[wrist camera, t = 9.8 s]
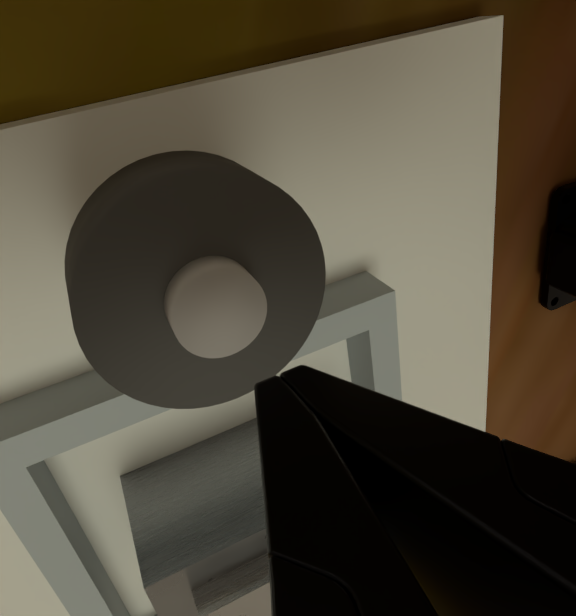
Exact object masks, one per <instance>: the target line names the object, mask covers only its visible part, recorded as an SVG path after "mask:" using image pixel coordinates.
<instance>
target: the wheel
mask: <svg viewBox="0 0 576 616" xmlns="http://www.w3.org/2000/svg"><path fill="white" fill-rule="evenodd" d="M64 264H65V280H66V286H67V292H68V299H69V305H70V311H71V317H72V322H73V328H74V332H75V335H76V337H77V340H78V343H79V346H80V348H81V350H82V351H83V353H84V355H85V357H86V359H87V360H88V362H89V363H90V364H91V366H92V367H93V368H94V370H95V371H96V372H97V373H98V374H99V375H100V376H101V377H102V378H103V379H104V380H105V381H106V382H107V383H108V384H110V385H111V386H113V387H114V388H115V389H117V390H118V391H120V392H121V393H123V394H125V395H127V396H129V397H131V398H133V399H135V400H138V401H141V402H143V403H146V404H149V405H154V406H158V407H163V408H172V409H195V408H203V407H210V406H214V405H218V404H222V403H225V402H228V401H231V400H234V399H237V398H239V397H241V396H243V395H245V394H247V393H250V392H252V391H253V390H254V385H255V384H256V383H257V382H259V381H262V380H264V379H267V378H269V377H272V376H275V375H277V374H278V373H279V372H280V371H281V370H282V369H283V368H284V367H285V366H286V365H287V364H288V363H289V362H290V361H291V360H292V359H293V358H294V356H295V355H296V354H297V353H298V351H299V350H300V349H301V347H302V346H303V344H304V343H305V342H306V340H307V338H308V336H309V335H310V333H311V331H312V329H313V327H314V325H315V322H316V320H317V318H318V315H319V312H320V309H321V305H322V302H323V296H324V291H325V279H326V270H325V258H324V253H323V249H322V245H321V242H320V239H319V236H318V233H317V231H316V229H315V227H314V225H313V223H312V221H311V219H310V218H309V217H308V215H307V214H306V212H305V211H304V210H303V208H302V207H301V206H300V205H299V204H298V203H297V202H296V201H295V200H294V199H293V198H292V197H291V196H290V195H289V194H287V193H286V192H285V191H284V190H282V189H281V188H280V187H278V186H277V185H275V184H273V183H271V182H270V181H268V180H266V179H264V178H263V177H261V176H259V175H258V174H256V173H254V172H252V171H251V170H249V169H247V168H245V167H244V166H242V165H240V164H238V163H236V162H235V161H233V160H230V159H227V158H225V157H222V156H220V155H216V154H211V153H207V152H201V151H189V150H185V151H170V152H164V153H159V154H154V155H151V156H148V157H145V158H142V159H139V160H137V161H135V162H133V163H131V164H129V165H127V166H125V167H123V168H122V169H120V170H119V171H117V172H116V173H114V174H113V175H111V176H110V177H109V178H108V179H106V180H105V181H104V182H103V183H102V184H101V185H100V186H99V187H98V188H97V189H96V190H95V191H94V192H93V193H92V194H91V196H90V197H89V198H88V199H87V200H86V202H85V203H84V205H83V207H82V208H81V210H80V211H79V213H78V215H77V217H76V219H75V221H74V223H73V226H72V228H71V230H70V234H69V238H68V241H67V245H66V252H65V260H64Z"/></svg>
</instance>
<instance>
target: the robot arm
mask: <svg viewBox="0 0 576 616" xmlns="http://www.w3.org/2000/svg"><path fill="white" fill-rule="evenodd" d="M575 300H576V182H573V183H570V184H567V185H565V186H562V187H560V188H558V189H557V190H556V191H555V192H554V194H553V195H552V199H551V207H550V217H549V227H548V237H547V247H546V257H545V267H544V277H543V287H542V297H541V305H542V306H543V307H545V308H547V309H549V310H554V309H557V308H559V307H561V306H563V305H566V304H568V303H570V302H573V301H575ZM254 394H255V406H256V418H257V430H258V443H259V455H260V467H261V479H262V491H263V503H264V515H265V528H266V540H267V552H268V558H269V560H268V568H269V580H270V595H271V616H576V464H574V463H571V462H568V461H565V460H562V459H559V458H557V457H554V456H551V455H548V454H545V453H542V452H539V451H536V450H534V449H531V448H528V447H525V446H523V445H520V444H517V443H514V442H512V441H509V440H506V439H503V440H501V441H500V439H499V437H497V436H495V435H492V434H490V433H487V432H484V431H481V430H479V429H476V428H473V427H471V426H468V425H465V424H463V423H460V422H457V421H454V420H452V419H449V418H446V417H444V416H441V415H438V414H436V413H433V412H430V411H427V410H425V409H422V408H419V407H417V406H414V405H411V404H409V403H406V402H403V401H400V400H398V399H395V398H392V397H390V396H387V395H384V394H382V393H379V392H376V391H373V390H371V389H368V388H365V387H363V386H360V385H357V384H355V383H352V382H349V381H346V380H344V379H341V378H338V377H336V376H333V375H330V374H328V373H325V372H322V371H320V370H317V369H314V368H311V367H309V366H306V365H299V366H296V367H294V368H291V369H289V370H286V371H284V372H282V373H281V374H280V376H276V375H275V376H272V377H269V378H267V379H264V380H262V381H259V382H257V383H256V384H255V385H254Z"/></svg>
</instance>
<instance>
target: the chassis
mask: <svg viewBox="0 0 576 616" xmlns="http://www.w3.org/2000/svg"><path fill="white" fill-rule="evenodd" d="M502 37H503V15H499V16H480V17H475V18H471V19H466V20H462V21H457V22H453V23H448V24H444V25H440V26H435V27H431V28H426V29H422V30H417V31H413V32H408V33H404V34H400V35H395V36H391V37H386V38H382V39H377V40H373V41H368V42H364V43H360V44H355V45H351V46H346V47H342V48H337V49H333V50H328V51H324V52H320V53H315V54H311V55H306V56H302V57H297V58H293V59H288V60H284V61H280V62H275V63H271V64H266V65H262V66H257V67H253V68H248V69H244V70H240V71H235V72H231V73H226V74H222V75H217V76H213V77H208V78H204V79H200V80H195V81H191V82H186V83H182V84H177V85H173V86H168V87H164V88H160V89H155V90H151V91H146V92H142V93H137V94H133V95H128V96H124V97H120V98H115V99H111V100H106V101H102V102H97V103H93V104H88V105H84V106H80V107H75V108H71V109H66V110H62V111H57V112H53V113H48V114H44V115H40V116H35V117H31V118H26V119H22V120H17V121H13V122H8V123H4V124H0V616H158V615H157V613H156V611H155V609H154V608H153V606H152V604H151V602H150V600H149V598H148V596H147V594H146V592H145V590H144V587H143V583H142V578H141V573H140V569H139V564H138V559H137V555H136V550H135V545H134V541H133V536H132V531H131V527H130V522H129V517H128V513H127V508H126V503H125V499H124V494H123V489H122V485H121V480H120V476H121V475H123V474H126V473H128V472H130V471H133V470H135V469H137V468H140V467H142V466H144V465H147V464H149V463H151V462H154V461H156V460H159V459H161V458H163V457H166V456H168V455H170V454H173V453H175V452H177V451H180V450H182V449H184V448H187V447H189V446H191V445H194V444H196V443H198V442H201V441H203V440H205V439H208V438H210V437H212V436H215V435H217V434H219V433H222V432H224V431H226V430H229V429H231V428H233V427H236V426H238V425H240V424H243V423H245V422H247V421H250V420H252V419H254V418H256V406H255V394H254V390H253V391H252V392H250V393H247V394H245V395H243V396H241V397H239V398H237V399H234V400H231V401H228V402H225V403H222V404H218V405H214V406H210V407H203V408H195V409H172V408H163V407H158V406H154V405H149V404H146V403H143V402H141V401H138V400H135V399H133V398H131V397H129V396H127V395H125V394H123V393H121V392H120V391H118V390H117V389H115V388H114V387H113V386H111V385H110V384H108V383H107V382H106V381H105V380H104V379H103V378H102V377H101V376H100V375H99V374H98V373H97V372H96V371H95V370H94V368H93V367H92V366H91V364H90V363H89V362H88V360H87V359H86V357H85V355H84V353H83V351H82V350H81V348H80V346H79V343H78V340H77V337H76V335H75V332H74V328H73V322H72V317H71V311H70V305H69V299H68V292H67V286H66V280H65V264H64V260H65V252H66V245H67V241H68V238H69V234H70V230H71V228H72V226H73V223H74V221H75V219H76V217H77V215H78V213H79V211H80V210H81V208H82V207H83V205H84V203H85V202H86V200H87V199H88V198H89V197H90V196H91V194H92V193H93V192H94V191H95V190H96V189H97V188H98V187H99V186H100V185H101V184H102V183H103V182H104V181H105V180H106V179H108V178H109V177H110V176H111V175H113V174H114V173H116V172H117V171H119V170H120V169H122V168H123V167H125V166H127V165H129V164H131V163H133V162H135V161H137V160H139V159H142V158H145V157H148V156H151V155H154V154H159V153H164V152H170V151H185V150H189V151H201V152H207V153H211V154H216V155H220V156H222V157H225V158H227V159H230V160H233V161H235V162H236V163H238V164H240V165H242V166H244V167H245V168H247V169H249V170H251V171H252V172H254V173H256V174H258V175H259V176H261V177H263V178H264V179H266V180H268V181H270V182H271V183H273V184H275V185H277V186H278V187H280V188H281V189H282V190H284V191H285V192H286V193H287V194H289V195H290V196H291V197H292V198H293V199H294V200H295V201H296V202H297V203H298V204H299V205H300V206H301V207H302V208H303V210H304V211H305V212H306V214H307V215H308V217H309V218H310V219H311V221H312V223H313V225H314V227H315V229H316V231H317V233H318V236H319V239H320V242H321V245H322V249H323V253H324V258H325V270H326V279H325V291H324V296H323V302H322V305H321V309H320V312H319V315H318V318H317V320H316V322H315V325H314V327H313V329H312V331H311V333H310V335H309V336H308V338H307V340H306V342H305V343H304V344H303V346H302V347H301V349H300V350H299V351H298V353H297V354H296V355H295V356H294V358H293V359H292V360H291V361H290V362H289V363H288V364H287V365H286V366H285V367H284V368H283V369H282V370H281V371H280V372H279V373H278V374H277V375H276V376H280V374H281V373H282V372H284V371H286V370H289V369H291V368H294V367H296V366H299V365H306V366H309V367H311V368H314V369H317V370H320V371H322V372H325V373H328V374H330V375H333V376H336V377H338V378H341V379H344V380H346V381H349V382H352V383H355V384H357V385H360V386H363V387H365V388H368V389H371V390H373V391H376V392H379V393H382V394H384V395H387V396H390V397H392V398H395V399H398V400H400V401H403V402H406V403H409V404H411V405H414V406H417V407H419V408H422V409H425V410H427V411H430V412H433V413H436V414H438V415H441V416H444V417H446V418H449V419H452V420H454V421H457V422H460V423H463V424H465V425H468V426H471V427H473V428H476V429H479V430H481V431H484V432H485V429H486V406H487V383H488V360H489V337H490V314H491V291H492V268H493V245H494V222H495V199H496V176H497V152H498V129H499V106H500V83H501V60H502Z"/></svg>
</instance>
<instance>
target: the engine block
mask: <svg viewBox="0 0 576 616" xmlns="http://www.w3.org/2000/svg"><path fill="white" fill-rule="evenodd" d="M120 480H121V485H122V489H123V494H124V499H125V503H126V508H127V513H128V517H129V522H130V527H131V531H132V536H133V541H134V545H135V550H136V555H137V559H138V564H139V569H140V573H141V578H142V583H143V587H144V590H145V592H146V594H147V596H148V598H149V600H150V602H151V604H152V606H153V608H154V609H155V611H156V613H157V615H158V616H271V595H270V580H269V568H268V560H269V558H268V552H267V540H266V528H265V515H264V503H263V491H262V479H261V467H260V455H259V443H258V430H257V418H254V419H252V420H250V421H247V422H245V423H243V424H240V425H238V426H236V427H233V428H231V429H229V430H226V431H224V432H222V433H219V434H217V435H215V436H212V437H210V438H208V439H205V440H203V441H201V442H198V443H196V444H194V445H191V446H189V447H187V448H184V449H182V450H180V451H177V452H175V453H173V454H170V455H168V456H166V457H163V458H161V459H159V460H156V461H154V462H151V463H149V464H147V465H144V466H142V467H140V468H137V469H135V470H133V471H130V472H128V473H126V474H123V475H121V476H120Z"/></svg>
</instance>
